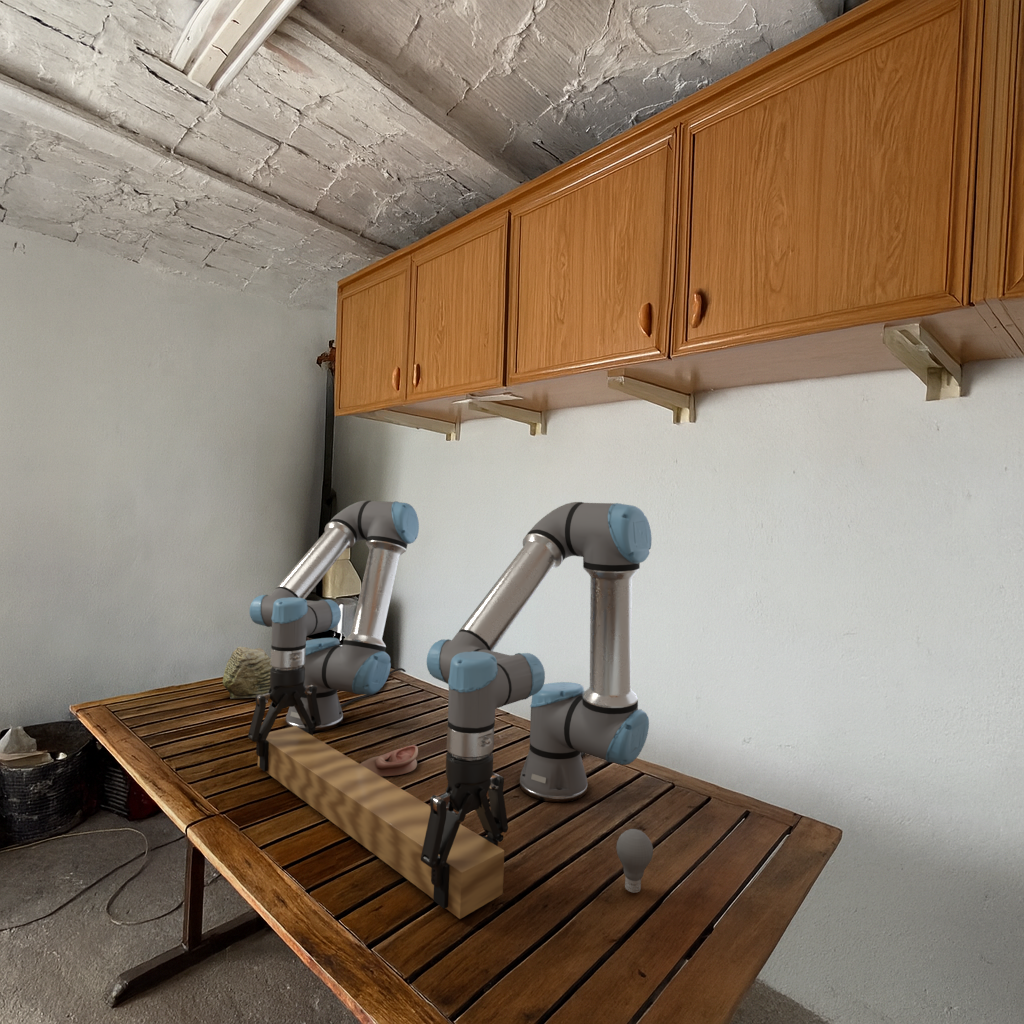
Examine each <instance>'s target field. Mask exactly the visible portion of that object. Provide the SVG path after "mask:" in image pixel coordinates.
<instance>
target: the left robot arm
mask: <svg viewBox="0 0 1024 1024" xmlns="http://www.w3.org/2000/svg"><path fill="white" fill-rule="evenodd" d="M419 531H420V523H419V518H418V514H417V511H416V509H415V508H414V506H412V505H411V504H410V503H407V502H400V501H398V500H397V501H396V500H395V501H385V500H383V501H382V500H365V499H364V500H360V501H357V502H354V503H352V504H350V505H348V506H347V507H345V508H343V509H341V510H340V512H338V513H337V514H335V515H334V516H333V517H332V518H331V519H330V520H329V521H328V522H327V523H326V525H325V527H324V532H323V533H322V535H321V536H320V537H319V538H318V539H317V540H316V541H315V542H314V544H313V545H312V546H311V547H310V549H308V551H307V552H306V553H305V554H304V555H303V556H302V558H300V560H299V561H298V562H297V563H296V565H294V567H293V568H292V569H291V570H290V571H289V573H287V575H286V576H285V577H284V578H283V579H282V581H280V583H279V584H278V585H276V587H275V589H273V591H272V592H271V593H270V594H260V595H258V596H256V597H254V598H253V600H251V604H250V606H249V617H250V619H251V621H252V622H253V623H254V624H256V625H259V626H263V627H267V628H271V645H270V646H271V648H270V658H271V666H272V668H271V669H270V690H269V692H268V693H266V694H263V695H260V694H257V695H256V697H254V698H255V707H254V711H253V715H252V719H251V722H250V727H249V730H248V734H247V738H248V740H250V741H252V742H254V743H256V747H255V748H256V749H255V750H256V751H255V754H256V755H257V757H258V756H259V757H260V766H258V767H259V769H260V770H262V771H263V772H264V773H266V772H265V771H268V753H269V742H268V741H267V740H266V738H267V736H268V734H269V732H271V730H272V728H273V726H274V724H275V722H276V720H277V717H278V715H279V714H280V713H281V712H282V710H284V709H287V708H288V711H287V713H286V715H285V726H286V728H289V727H293V726H297V727H299V728H300V729H302V730H304V731H305V732H307V733H309V734H310V735H312V736H314V733H316V732H325V731H329V730H332V729H335V728H337V727H339V726H340V725H342V723H343V722H344V713H343V709H342V707H345V706H347V705H350V704H352V703H354V702H356V701H359V700H362V699H365V698H368V697H372V696H374V695H376V694H377V693H379V692H380V691H381V690H382V689H383V687H384V685H385V684H386V682H387V680H388V678H389V676H390V675H391V674H393V673H395V672H397V671H402V672H403V673H406V672H407V670H406V669H405V668H402V667H397V668H395V669H393V670H391V666H392V663H391V656H390V655H389V654H388V653H387V652H386V648H387V646H386V643H385V642H384V641H383V636H384V631H385V627H386V621H387V617H388V613H389V608H390V603H391V599H392V593H393V591H394V586H395V585H394V584H395V580H396V575H397V571H398V565H399V561H400V557H401V555H403V554H405V553H406V552H407V549H408V545H410V544H414V542H416V540H417V539H418V536H419ZM361 541H365V545H366V546H367V547H368V550H369V551H368V552H369V553H368V556H367V559H366V565H365V569H364V574H363V578H362V582H361V587H360V591H359V596H358V601H357V605H356V609H355V614H354V617H353V622H352V627H351V630H350V634H349V635H347V636H346V637H345V638H343V641H342V645H340V644H341V642H340V640H339V638H337V637H321V638H313V639H307V637H309V636H312V635H316V634H319V633H323V632H324V633H325V632H329V630H332V629H335V628H336V627H337V626H338V625H339V623H340V622H341V619H342V611H341V608H340V606H339V604H338V603H337V602H336V601H335V600H332V599H319V600H308V599H307V597H308V596H309V595H310V594H311V592H312V591H313V590H314V589H315V588H316V586H317V585H318V584H319V582H320V581H321V580H322V579H323V578H324V577H325V575H326V574H327V573H328V571H329V570H330V569H331V568H332V567H333V565H334V564H335V563H336V562H337V561H338V559H339V558H340V557H341V556H342V554H343V553H344V552H345V551H346V549H351V548H352V547H353V546H354V545H355V544H356V543H357V542H361ZM338 691H340V692H347V693H352V694H354V695H361V696H358V697H355V698H353V699H350V700H348V701H346V702H344V703H341V702H340V699H339V695H338ZM269 700H271V702H270V704H269V706H268V710H267V713H266V715H265V712H266V709H267V704H268V703H269Z"/></svg>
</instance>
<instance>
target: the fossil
mask: <svg viewBox="0 0 1024 1024" xmlns="http://www.w3.org/2000/svg"><path fill="white" fill-rule="evenodd" d="M271 668H272V666H271V657H270V656H269V655H268V654H267V653H266V652H265V650H264V649H263V648H260V647H258V648H251V647H247V646H246V647H245V646H238V647H237V648H236V649H235V650H233V651H232V653H231V656H230V657H229V659H228V660H227V663H226V666H225V668H224V671H223V675H222V676H223V677H222V685H223V687H224V688H225V690H226V691H228V693H229V698H230V699H250V698H255V697H256V695H257V694H260V695H263V694H266V693H268V692H269V690H270V669H271Z"/></svg>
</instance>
